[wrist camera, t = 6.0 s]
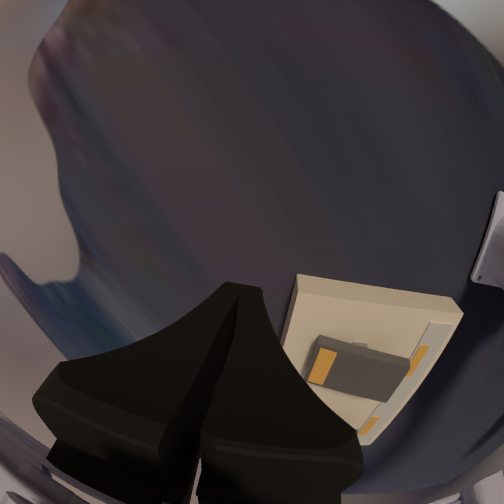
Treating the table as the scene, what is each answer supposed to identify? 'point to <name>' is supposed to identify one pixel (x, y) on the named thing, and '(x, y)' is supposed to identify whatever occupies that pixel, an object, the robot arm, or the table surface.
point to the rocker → (356, 369)
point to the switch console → (368, 338)
